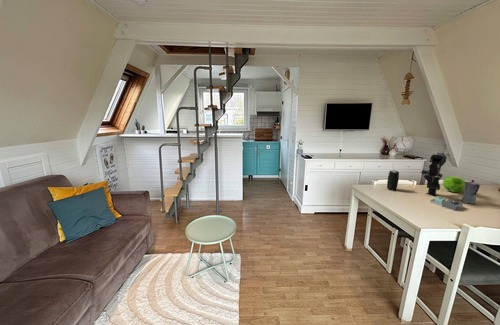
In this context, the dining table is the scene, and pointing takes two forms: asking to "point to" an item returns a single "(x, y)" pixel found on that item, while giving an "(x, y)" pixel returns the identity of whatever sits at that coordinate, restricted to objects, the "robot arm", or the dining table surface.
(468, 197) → the moka pot
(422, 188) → the dining table surface
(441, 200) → the mint block with knob
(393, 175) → the portable speaker
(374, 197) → the dining table surface
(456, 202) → the square frame
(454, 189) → the lettuce
